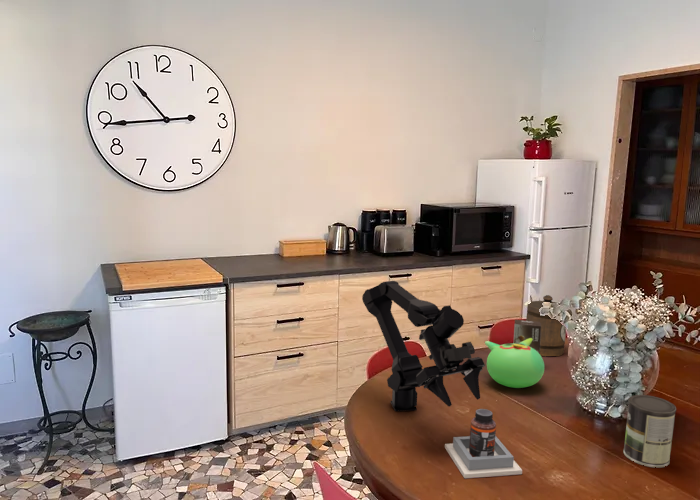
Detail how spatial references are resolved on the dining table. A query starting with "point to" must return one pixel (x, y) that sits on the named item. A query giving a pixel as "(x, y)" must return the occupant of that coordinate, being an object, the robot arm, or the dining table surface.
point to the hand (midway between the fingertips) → (464, 402)
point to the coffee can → (649, 430)
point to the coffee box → (528, 333)
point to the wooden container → (547, 329)
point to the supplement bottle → (482, 434)
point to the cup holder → (482, 460)
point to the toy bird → (515, 364)
